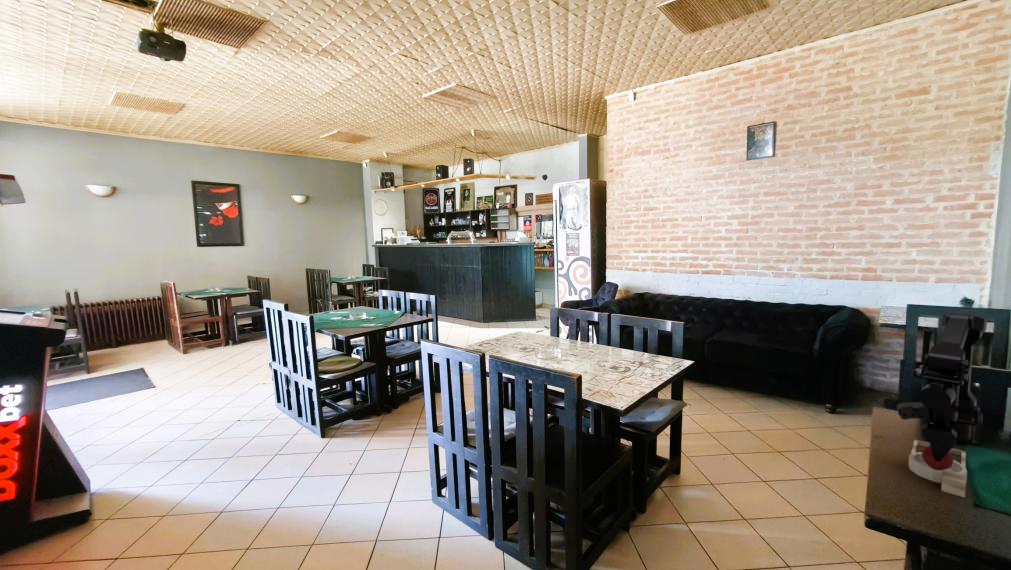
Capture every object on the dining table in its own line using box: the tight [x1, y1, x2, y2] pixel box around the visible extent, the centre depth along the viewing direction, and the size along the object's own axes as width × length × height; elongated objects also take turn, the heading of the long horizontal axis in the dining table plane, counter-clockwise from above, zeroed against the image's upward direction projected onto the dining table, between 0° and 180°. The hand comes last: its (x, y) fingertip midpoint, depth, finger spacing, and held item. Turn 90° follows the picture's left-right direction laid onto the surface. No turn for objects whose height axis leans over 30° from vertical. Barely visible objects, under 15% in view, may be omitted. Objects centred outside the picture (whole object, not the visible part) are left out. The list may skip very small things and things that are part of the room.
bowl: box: [908, 451, 968, 484], centre depth 112 cm, size 11×11×3 cm
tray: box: [910, 438, 967, 469], centre depth 120 cm, size 11×11×1 cm
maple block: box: [940, 470, 967, 498], centre depth 105 cm, size 4×4×4 cm
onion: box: [922, 446, 954, 470], centre depth 112 cm, size 6×6×8 cm
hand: (937, 454), depth 112 cm, fingers open, 9 cm apart
